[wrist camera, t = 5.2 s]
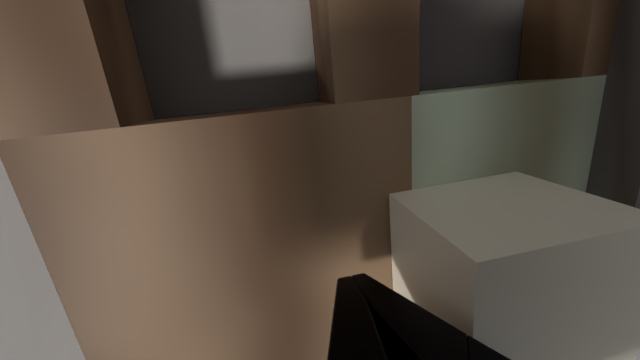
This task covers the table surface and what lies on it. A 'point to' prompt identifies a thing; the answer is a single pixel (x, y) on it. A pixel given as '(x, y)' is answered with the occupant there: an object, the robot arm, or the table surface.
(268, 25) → the table surface
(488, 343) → the block
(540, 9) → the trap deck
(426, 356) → the robot arm
